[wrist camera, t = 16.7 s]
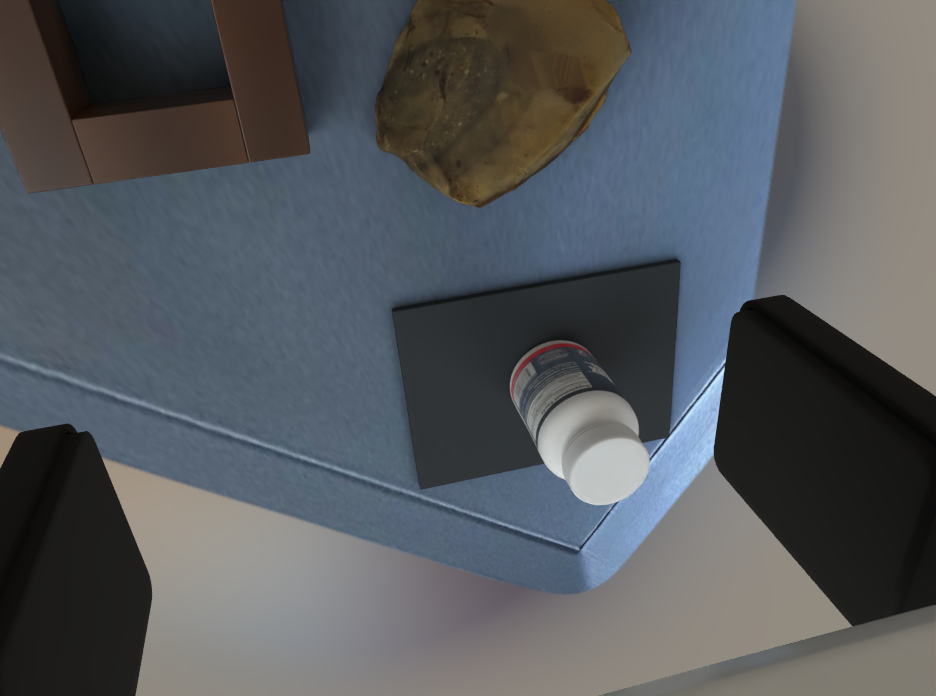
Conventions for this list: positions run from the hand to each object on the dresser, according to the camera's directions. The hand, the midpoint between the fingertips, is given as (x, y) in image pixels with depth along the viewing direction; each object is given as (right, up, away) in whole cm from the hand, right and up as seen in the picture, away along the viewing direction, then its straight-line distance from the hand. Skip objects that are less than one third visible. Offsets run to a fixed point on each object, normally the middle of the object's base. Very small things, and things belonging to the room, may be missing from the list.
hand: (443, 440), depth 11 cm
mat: (+5, 0, +31) cm, 31 cm away
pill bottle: (+5, 0, +31) cm, 31 cm away
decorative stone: (+1, +14, +23) cm, 27 cm away
